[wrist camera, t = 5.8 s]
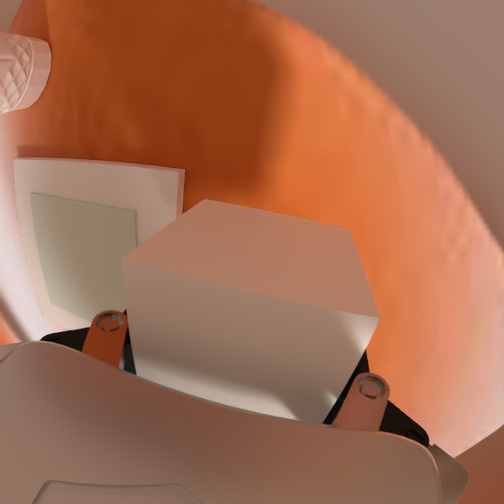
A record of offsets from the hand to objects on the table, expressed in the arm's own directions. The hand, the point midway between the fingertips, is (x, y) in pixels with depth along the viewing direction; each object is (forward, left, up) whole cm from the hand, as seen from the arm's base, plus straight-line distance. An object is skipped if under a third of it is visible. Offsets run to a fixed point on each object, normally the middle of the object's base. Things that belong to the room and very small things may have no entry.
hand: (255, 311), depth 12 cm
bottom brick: (0, 0, -1) cm, 1 cm away
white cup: (+23, -12, -7) cm, 27 cm away
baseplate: (+15, +5, -7) cm, 18 cm away
